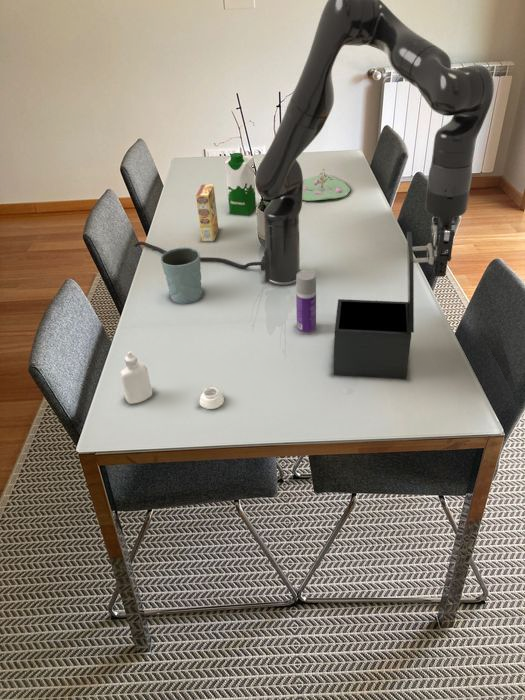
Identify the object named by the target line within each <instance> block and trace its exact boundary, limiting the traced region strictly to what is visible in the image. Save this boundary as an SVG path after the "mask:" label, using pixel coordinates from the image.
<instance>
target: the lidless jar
mask: <svg viewBox="0 0 525 700" xmlns="http://www.w3.org/2000/svg"><path fill="white" fill-rule="evenodd" d="M224 401H225V399H224V395H223V394H222V393H221V392H220V391H219V390H218V388H216V387H214V386H210V387H206V388H205V389H204V390H203V391H202V394H201V395H200V397H199V405H200V406H201V407H202V408H203V409H207V410H214V409H217V408H219V407H221V406H222V405H223V403H224Z"/></svg>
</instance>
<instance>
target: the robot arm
mask: <svg viewBox="0 0 525 700" xmlns="http://www.w3.org/2000/svg"><path fill="white" fill-rule="evenodd" d="M344 46H354V47H355V46H356V47H361V46H369V47H372V48H375V49H376V50H379V51H381V52H383V53H384V54H385V55H386V56H387V59H388V62H389V64H390V66H391V68H392V69H393V70H394V72H395V73H397V75H399V77H400V78H402V79H404V80H405V81H406V82H408V83H410V84H411V85H412V86H414V87H415V88H417V90H418V92H419V93H420V95H421V96H422V98H423V99H424V100H425V102H426V104H427V105H428V106H429V108H430V109H431V110H432V111H433V112H435V113H437V114H439V115H442V116H446V117H451V116H452V117H451V119H450V121H448V122H447V123H445V124H444V125H443V126H441V127H440V128H439V129H437V131H436V132H435V134H434V140H433V147H432V154H431V163H430V167H429V169H428V170H429V171H428V177H427V184H426V185H427V186H426V192H425V193H426V195H425V201H424V202H425V203H424V209H425V211H426V213H428V214H429V215H431V216H432V218H431V226H430V227H431V229H430V230H431V231H430V232H431V237H432V240H431V243H433V246H434V247H435V248H436V254H435V264H434V266H433V276H434V277H437V278H438V277H440V278H443V277H446V276H447V275H446V274H447V268H448V262H451V260H452V252H453V245H454V238H455V235H456V232H455V231H456V222H455V218H457V217H461V216H463V215H464V214H465V213H466V212H467V209H468V203H469V198H470V190H471V185H472V184H471V183H472V178H473V162H474V156H475V149H476V143H477V138H478V136H479V134H480V131H481V129H482V127H483V125H484V122H485V120H486V117H487V116H488V112H489V110H490V107H491V105H492V101H493V99H494V93H495V84H494V83H495V81H494V78H493V75H492V73H491V71H490V70H489V68H487V66H485V65H482V64H473V65H468V66H462V67H458V68H452V60H451V57H450V56H449V54H448V53H447V52H445V50H444V49H442V48H440V47H439V46H437V45H436V44H434V43H433V42H432V41H429V40H427V39H426V38H424V37H423V36H421V35H420V34H418V33H416V32H415V31H413V30H412V29H411V28H410V27H408V26H407V25H406V24H405V23H404V22H403V21H402V20H400V19H399V18H398V17H397V15H395V14H394V12H392V10H390V8H389V7H388V6H387V5H386V4H385V3H384V2H383V1H382V0H327V1H326V2H325V5H324V7H323V9H322V12H321V15H320V18H319V21H318V23H317V27H316V30H315V34H314V37H313V40H312V43H311V46H310V50H309V53H308V55H307V59H306V61H305V63H304V66H303V69H302V71H301V74H300V76H299V79H298V81H297V83H296V86H295V87H294V90H293V92H292V94H291V97H290V99H289V101H288V104H287V107H286V108H285V111H284V114H283V117H282V119H281V121H280V124H279V126H278V128H277V131H276V132H275V135H274V137H273V140H272V142H271V144H270V145H269V148H268V149H267V151H266V153H265V155H264V157H262V158H263V159H262V160H261V161H260V164H259V165H258V167H257V170H256V172H255V175H254V180H255V190H256V191H257V193H258V195H259V196H260V197H261V198H263V199H264V200H268V201H270V202H269V204H268V205H266V207H265V208H264V211H263V224H264V225H263V227H264V241H265V242H264V245H265V247H264V250H263V256H262V258H261V260H260V261H252V262H247V263H246V264H239V263H236V262H235V261H232V260H230V259H226V258H221V257H208V256H207V257H205V256H204V257H203V256H200V262H220V263H224V264H228V265H231V266H233V267H236V268H238V269H247V268H250V267H254V266H260V271H261V272H264V273H265V274H264V275H265V282H266V283H270V284H274V285H276V286H277V285H278V286H289V285H291V284H294V283H296V275H297V273H298V272H300V271H301V257H300V255H301V253H300V246H301V245H300V244H301V243H300V214H301V211H302V208H303V200H302V194H303V182H304V179H303V178H304V175H303V171H302V168H301V164H300V162H299V161H298V160H297V159H298V158H299V156H300V155H301V154H302V153H303V152H304V151H305V150H306V149H307V148H308V147H309V146H310V145H311V143H313V141H314V140H315V139H316V138H317V136H318V135H319V134H320V133H321V131H322V130H323V127H324V126H325V124H326V122H327V120H328V118H329V116H330V114H331V112H332V109H333V107H334V104H335V103H334V102H335V91H334V84H333V75H332V72H333V67H334V64H335V62H336V60H337V58H338V55H339V53H340V51H341V49H343V47H344ZM139 246H144V247H147V248H150V249H152V250H156V251H158V252H160V253H162V254H164V253H165V252H167V251H168V250H164V249H163V248H160V247H158V246H156V245H153V244H150V243H148V242H145V241H137V242H135V243H134V245H133V247H135V248H136V247H139ZM444 250H446V251H445V252H443V251H444Z"/></svg>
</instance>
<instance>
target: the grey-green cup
mask: <svg viewBox="0 0 525 700" xmlns="http://www.w3.org/2000/svg"><path fill="white" fill-rule="evenodd" d="M166 251H167V252H165V253H162V255H161V256H160V263H161V266H162V270H163V274H164V275H165V280H166V283H167V287H168V291H169V296H170V298H171V300H172V301H173V302H174V303H177V304H182V305H183V304H193V303H195V302H197V301H199V300H200V299H201V297H203V287H202V286H203V285H202V272H201V270H202V268H201V261H200V257H201V253H200V252H199V250H197V249H196V248H193V247H188V246H187V247H186V246H185V247H184V246H183V247H177V248H176V247H175V248H171V249H169V250H166Z"/></svg>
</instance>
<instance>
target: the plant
mask: <svg viewBox="0 0 525 700" xmlns="http://www.w3.org/2000/svg"><path fill="white" fill-rule="evenodd" d="M325 170H326V169H325V168H322V171H325ZM350 192H351V188H350V186H349V185H348V184H346V183H345V182H344V181H342V180H341V179H338V178H336V177H335V176H332V175H328V174H326V173H325V172H320V173H319V174H318V176H313V177H309V178H306V179H305V180H303V194H302V201H309V202H310V201H323V200H333V199H340V198H344V197H346V196H347V195H348V194H349V193H350Z"/></svg>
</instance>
